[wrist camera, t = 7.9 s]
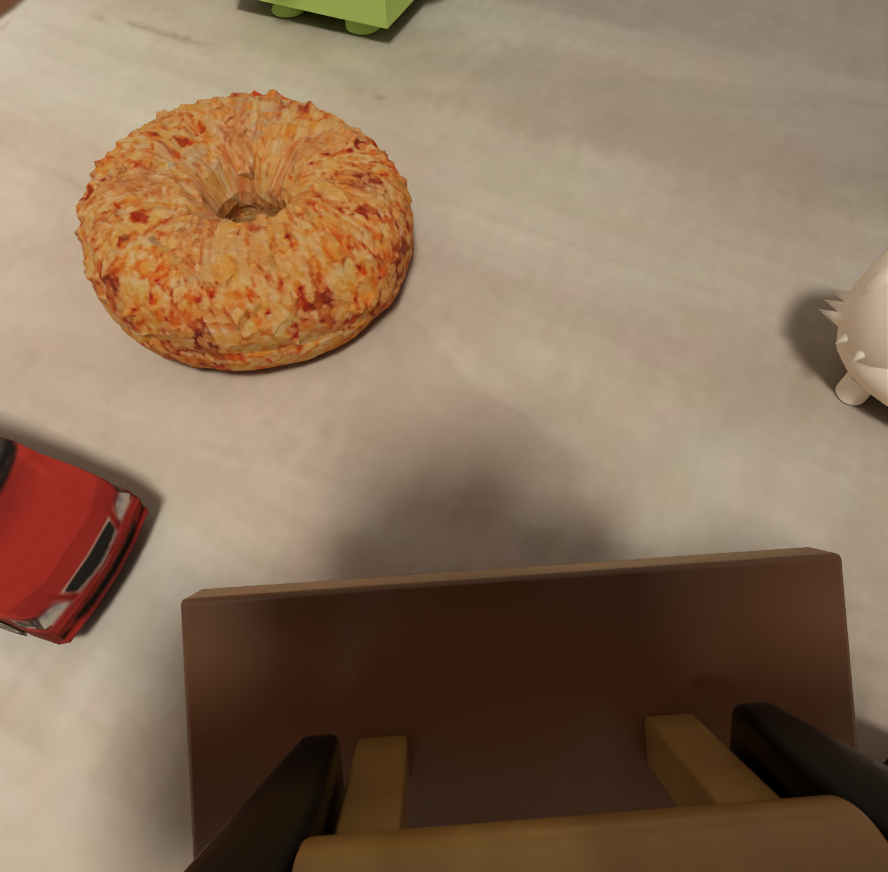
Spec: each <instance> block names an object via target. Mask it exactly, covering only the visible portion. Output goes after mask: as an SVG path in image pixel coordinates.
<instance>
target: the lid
mask: <svg viewBox="0 0 888 872" xmlns="http://www.w3.org/2000/svg"><path fill="white" fill-rule="evenodd" d="M181 615H182V635H183V655H184V676H185V696H186V716H187V737H188V757H189V777H190V798H191V818H192V838H193V858H194V859H195V858H196V857H197V856H198V855H199V854H200V853H201V852H202V850H203V849H204V848H205V847H206V846H207V845H208V844H209V843H210V841H211V840H212V839H213V838H214V837H215V836H216V835H217V834H218V832H219V831H220V830H221V829H222V828H223V827H224V826H225V825H226V823H227V822H228V821H229V820H230V819H231V818H232V817H233V816H234V815H235V813H236V812H237V811H238V810H239V809H240V808H241V807H242V806H243V804H244V803H245V802H246V801H247V800H248V799H249V798H250V797H251V795H252V794H253V793H254V792H255V791H256V790H257V789H258V788H259V786H260V785H261V784H262V783H263V782H264V781H265V780H266V779H267V777H268V776H269V775H270V774H271V773H272V772H273V771H274V770H275V768H276V767H277V766H278V765H279V764H280V763H281V762H282V761H283V759H284V758H285V757H286V756H287V755H288V754H289V753H290V752H291V750H292V749H293V748H294V747H295V746H296V745H297V744H298V743H299V742H300V740H301V739H303V738H304V737H306V736H314V735H328V734H334V735H335V736H336V737H337V738H338V740H339V745H340V754H341V763H342V773H343V782H344V792H345V793H344V797H343V801H342V805H341V809H340V813H339V817H338V821H337V825H336V829H335V833H334V835H323V836H311V837H309V838H307V839H305V840H304V841H303V842H302V843H301V845H300V847H299V849H298V852H297V854H296V857H295V861H294V864H293V868H292V872H888V842H887V840H886V839H885V837H884V836H883V835H882V833H881V832H880V831H879V829H878V828H877V827H876V826H875V824H874V823H873V822H872V821H871V820H870V819H869V818H868V817H867V816H866V814H864V813H863V812H862V811H861V810H860V809H859V808H858V807H856V806H855V805H853V804H852V803H851V802H849V801H847V800H845V799H842V798H840V797H837V796H833V795H820V796H807V797H795V798H783V799H781V798H780V797H779V796H778V795H777V794H776V793H775V792H774V791H773V790H772V789H771V788H770V787H769V786H768V785H766V784H765V783H764V782H763V781H762V780H761V779H760V778H759V777H758V776H757V775H756V774H755V773H754V772H753V771H752V770H751V769H750V768H749V767H748V766H747V765H745V764H744V763H743V762H742V761H741V760H740V759H739V758H738V757H737V756H736V755H735V754H734V753H733V752H732V751H731V750H730V738H731V720H732V712H733V709H734V707H735V706H737V705H738V704H742V703H755V702H768V703H771V704H773V705H775V706H777V707H779V708H781V709H783V710H784V711H786V712H788V713H790V714H792V715H794V716H796V717H797V718H799V719H801V720H803V721H805V722H807V723H809V724H810V725H812V726H814V727H816V728H818V729H820V730H822V731H823V732H825V733H827V734H829V735H831V736H833V737H835V738H836V739H838V740H840V741H842V742H844V743H846V744H848V745H849V746H851V747H853V748H855V749H857V750H858V747H857V736H856V724H855V713H854V701H853V690H852V678H851V667H850V655H849V644H848V632H847V621H846V609H845V598H844V586H843V575H842V563H841V558H840V556H839V555H838V554H836V553H832V552H827V551H823V550H818V549H814V548H810V547H804V548H790V549H776V550H761V551H747V552H733V553H718V554H704V555H690V556H675V557H661V558H647V559H632V560H618V561H603V562H589V563H575V564H560V565H546V566H532V567H517V568H503V569H489V570H474V571H460V572H446V573H431V574H417V575H403V576H388V577H374V578H359V579H345V580H331V581H316V582H302V583H288V584H273V585H259V586H245V587H230V588H216V589H202V590H200V591H198V592H196V593H195V594H193V595H191V596H189V597H188V598H186V599H184V600H182V603H181Z"/></svg>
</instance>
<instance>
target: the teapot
mask: <svg viewBox="0 0 888 872" xmlns="http://www.w3.org/2000/svg"><path fill="white" fill-rule="evenodd" d="M260 1H264V2H268V3H273V6H272V9H271V11H272V13H273V14H274V15H276V16H279V17H294V16H298V15H300V14H302V13H303V12H304V11H309V12H313V13H318V14H322V15H327V16H331V17H336V18H340V19H345V26H346V29H347V30H348V31H349V32H351V33H353V34H358V35H366V34H371V33H374V32H376V31H377V30H379V29H380V27H381V28H385V29H388V28H389V27H390V26H391V24H392V23H393V22H394V21H395V20H396V19H397V18H398V17H399V16H400V15H401V14H402V13H403V11H404V10H405V9H406V8H407V7H408V6H409V5H410V4H411V3H412V2H413V1H414V0H260Z"/></svg>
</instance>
